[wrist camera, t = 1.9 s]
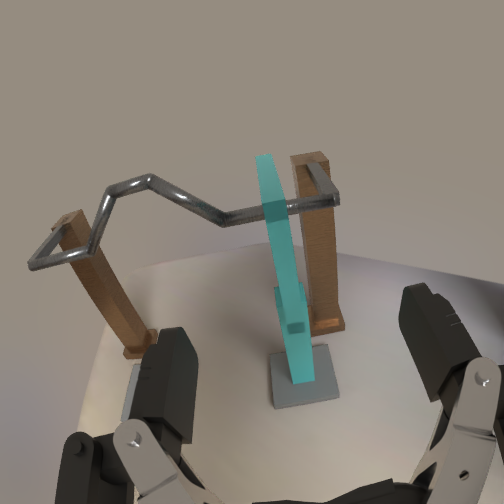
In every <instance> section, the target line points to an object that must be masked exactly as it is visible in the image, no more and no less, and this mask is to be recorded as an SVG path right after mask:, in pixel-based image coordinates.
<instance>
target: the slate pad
mask: <svg viewBox="0 0 504 504" xmlns="http://www.w3.org/2000/svg"><path fill="white" fill-rule="evenodd" d="M140 366H141V364H140V365H133V369H132V373H131V377H130V381H129V386H128V390H127V394H126V398H125V403H124V407H123V412H122V416H121V422H124V421H126V420H128V417H129V414H130V410H131V405H132V400H133V396H134V391H135V387H136V383H137V380H138V374H139V370H140Z"/></svg>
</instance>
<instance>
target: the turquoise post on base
mask: <svg viewBox="0 0 504 504" xmlns="http://www.w3.org/2000/svg"><path fill="white" fill-rule="evenodd" d="M255 158H256V165H257V172H258V179H259V186H260V193H261V201H262V206H263V211H264V216H265V220H266V225H267V230H268V235H269V240H270V244H271V249H272V254H273V259H274V264H275V269H276V274H277V279H278V284H279V287H274V290H275V298H276V306H277V311H278V316H279V320H280V325H281V329H282V334H283V339H284V343H285V348H286V352H281V353H275V354H270V365H271V377H272V389H273V401H274V407H275V409H280V408H286V407H293V406H299V405H305V404H311V403H316V402H321V401H326V400H331V399H336V398H339V390H338V385H337V381H336V377H335V372H334V368H333V364H332V360H331V356H330V352H329V348H328V344H325V345H320V346H315V347H312V345H311V335H310V326H309V317H308V308H307V301H306V296H305V292H304V288H303V284H302V282H300V283H298V276H297V269H296V262H295V256H294V249H293V243H292V237H291V231H290V225H289V218H288V212H287V206H286V200H285V197H284V193H283V190H282V187H281V184H280V180H279V178H278V174H277V171H276V168H275V165H274V162H273V158H272V155H271V154H266V155H261V156H256V157H255Z"/></svg>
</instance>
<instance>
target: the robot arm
mask: <svg viewBox="0 0 504 504" xmlns="http://www.w3.org/2000/svg"><path fill="white" fill-rule="evenodd" d="M399 327H400V330H401V333H402V335H403V337H404V339H405V341H406V344H407V346H408V348H409V350H410V353H411V355H412V357H413V360H414V362H415V364H416V367H417V369H418V372H419V374H420V376H421V379H422V381H423V384H424V386H425V389H426V392H427V394H428V397H429V399H430V402H434V401H436V400H439V399H440V400H441V402H442V407H441V410H440V413H439V416H438V419H437V422H436V425H435V428H434V431H433V433H432V436H431V439H430V441H429V444H428V447H427V449H426V452H425V454H424V455H423V457H422V459H421V460H420V462H419V464H418V465H417V467H416V469H415V471H414V473H413V476H412V478H411V480H410V482H409V483H399V482H395V483H393V480H392V478H391V479H388V480H384V481H381V482H377V483H374V484H370V485H366V486H362V487H359V488H357V489H355V490H353V491H350V492H348V493H346V494H344V495H342V496H339V497H337V498H335V499H333V500H330V501H328V502H324V503H316V502H302V501H291V500H282V501H271V502H255V503H252V504H477V503H478V500H479V498H480V495H481V492H482V489H483V487H484V484H485V481H486V478H487V475H488V472H489V468H490V465H491V462H492V458H493V454H494V451H495V447H496V438H497V441H498V445H499V448H500V452H501V456H502V459H503V463H504V365H497V364H496V363H495V362H494V361H493V360H491V359H489V358H485V357H482V356H481V354H480V353H479V351H478V349H477V347H476V346H475V344H474V342H473V340H472V339H471V337H470V335H469V333H468V332H467V330H466V328H465V327H464V325H463V323H461V320H460V318H459V317H458V315H457V314H456V313H455V310H454V309H453V307H452V306H451V304H450V303H449V301H448V300H446V299H445V298H444V297H442V296H441V295H440V294H438V293H437V294H434V295H433V294H432V292H431V291H430V289H429V288H428V286H427V285H426V284H425V283H419V284H415V285H411V286H407V287H405V288H404V290H403V295H402V300H401V306H400V311H399ZM197 377H198V357H197V353H196V351H195V349H194V347H193V345H192V344H191V342H190V340H189V338H188V336H187V334H186V333H185V331H184V329H183V328H182V327H175V328H166V329H161V330H160V333H159V337H158V341H157V344H151V345H150V346H149V348H148V349H147V350H146V352H145V353H144V355H143V358H142V362H141V366H140V370H139V374H138V380H137V383H136V387H135V391H134V396H133V400H132V405H131V410H130V414H129V417H128V420H126V421H124V422H123V423H121V424H120V425H119V426H118V427H117V429H116V430H115V432H114V433H111V434H107V435H102V436H98V437H94V438H92V437H91V436H89V435H88V434H87V433H84V432H76V433H73V434H72V435H70V436H69V437H68V438H67V440H66V442H65V444H64V449H63V453H62V459H61V465H60V470H59V477H58V483H57V490H56V497H55V504H134V486H136V488H137V490H138V492H139V494H140V496H139V497H138V500H137V501H138V504H224V503H223V502H222V501H221V500H220V499H219V498H218V497H217V496H216V495H215V494H214V493H212V492H211V491H210V490H209V488H208V487H207V486H206V485H205V484H204V482H203V481H202V480H201V479H200V477H199V476H198V475H197V473H196V472H195V471H194V470H193V468H192V467H191V466H190V464H189V463H188V462H187V460H186V459H185V457H184V456H183V455H182V453H181V445H182V444H192V433H193V420H194V409H195V397H196V387H197ZM493 428H494V432H495V435H496V436H495V435H493V434H492V429H493Z"/></svg>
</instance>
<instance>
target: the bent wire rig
mask: <svg viewBox="0 0 504 504" xmlns="http://www.w3.org/2000/svg"><path fill="white" fill-rule="evenodd" d="M290 159H291V165H292V171H293V177H294V183H295V189H296V195H297V199H291V200H286V206H287V212H288V215H292V214H298V213H299V216H300V223H301V230H302V237H303V245H304V253H305V261H306V269H307V277H308V286H309V295H310V304H311V305H309V306H307V308H308V317H309V326H310V334H311V337H314V336H319V335H324V334H329V333H334V332H338V331H343V330H345V323H344V320H343V317H342V314H341V311H340V308H339V305H338V279H337V255H336V237H335V223H334V210H333V207H336V206H337V205H340V197H339V191H338V190H337V188H336V187H335V185H334V184H333V183H332V181H331V178H330V177H331V176H330V167H329V160H328V159H327V158H326V157H325V156H324V154H323V153H322V152H320V151H319V152H313V153H306V154H300V155H294V156H290ZM147 189H150V190H152V191H154V192H155V193H157V194H159V195H161V196H163V197H165V198H167V199H169V200H171V201H173V202H174V203H176V204H178V205H180V206H182V207H184V208H186V209H188V210H189V211H191V212H193V213H195V214H197V215H199V216H201V217H203V218H205V219H206V220H208V221H210V222H212V223H214V224H216V225H218V226H219V227H222V228H225V227H230V226H235V225H240V224H245V223H250V222H255V221H261V220H265V216H264V211H263V206H262V205H260V206H255V207H250V208H245V209H240V210H235V211H230V212H223V211H221V210H219V209H217V208H216V207H214V206H212V205H210V204H208V203H206V202H204V201H203V200H201V199H199V198H197V197H195V196H193V195H191V194H190V193H188V192H186V191H184V190H182V189H180V188H178V187H177V186H175V185H173V184H171V183H169V182H167V181H165V180H163V179H162V178H160V177H158V176H156V175H154V174H151V173H149V174H145V175H142V176H139V177H135V178H132V179H129V180H126V181H123V182H119V183H116V184H113V185H110V186H108V187H107V188H106V190H105V193H104V195H103V198H102V200H101V203H100V206H99V209H98V212H97V214H96V217H95V220H94V223H93V226H92V229H91V228H90V226H89V224H88V222H87V219H86V217H85V215H84V213H83V211H82V209H80V210H77V211H74V212H72V213H69V214H66V215H64V216H62V217H61V218H60V219H59V220H58V222H57V223H56V224H55V225H54V226H53V227H52V228H51V229H52V231H53V232H52V233H51V234H50V235H49V237H48V238H47V239H46V240H45V241H44V242H43V243H42V245H41V246H40V247H39V248H38V250H37V251H36V252H35V253H34V254H33V256H32V257H31V258H30V259H29V261H28V268H29V270H30V271H37V270H41V269H45V268H49V267H52V266H56V265H60V264H64V263H70V264H71V266H72V268H73V269H74V271H75V273H76V275H77V276H78V278H79V280H80V281H81V283H82V284H83V286H84V288H85V289H86V291H87V292H88V294H89V296H90V297H91V299H92V300H93V302H94V303H95V305H96V306H97V308H98V309H99V311H100V312H101V314H102V315H103V316H104V318H105V320H106V321H107V322H108V324H109V325H110V327H111V328H112V330H113V331H114V332H115V334H116V335H117V336H118V338H119V339H120V341H121V342H122V343H123V345H124V346H125V349H124V352H123V355H124V356H125V358H126V359H141V358H143V355H144V353H145V352H146V350H147V349H148V348H149V346H150V345H151V344H156V341H157V337H158V333H157V332H156V330H155V329H150V330H147V328H146V326H145V325H144V323H143V322H142V320H141V318H140V317H139V315H138V314H137V312H136V310H135V309H134V307H133V305H132V304H131V302H130V300H129V299H128V297H127V295H126V294H125V292H124V290H123V288H122V287H121V285H120V283H119V282H118V280H117V278H116V276H115V274H114V272H113V271H112V269H111V267H110V265H109V263H108V261H107V260H106V258H105V256H104V254H103V252H102V250H101V248H100V246H99V244H100V241H101V238H102V235H103V233H104V230H105V227H106V224H107V222H108V219H109V217H110V214H111V211H112V209H113V206H114V204H115V201H116V199H117V198H120V197H123V196H126V195H129V194H133V193H137V192H140V191H143V190H147ZM58 243H59V245H60V247H61V248H62V250H63V252H60V253H57V254H53V255H50V253H51V252H52V251H53V249H54V248H55V247H56V246H57V244H58Z"/></svg>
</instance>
